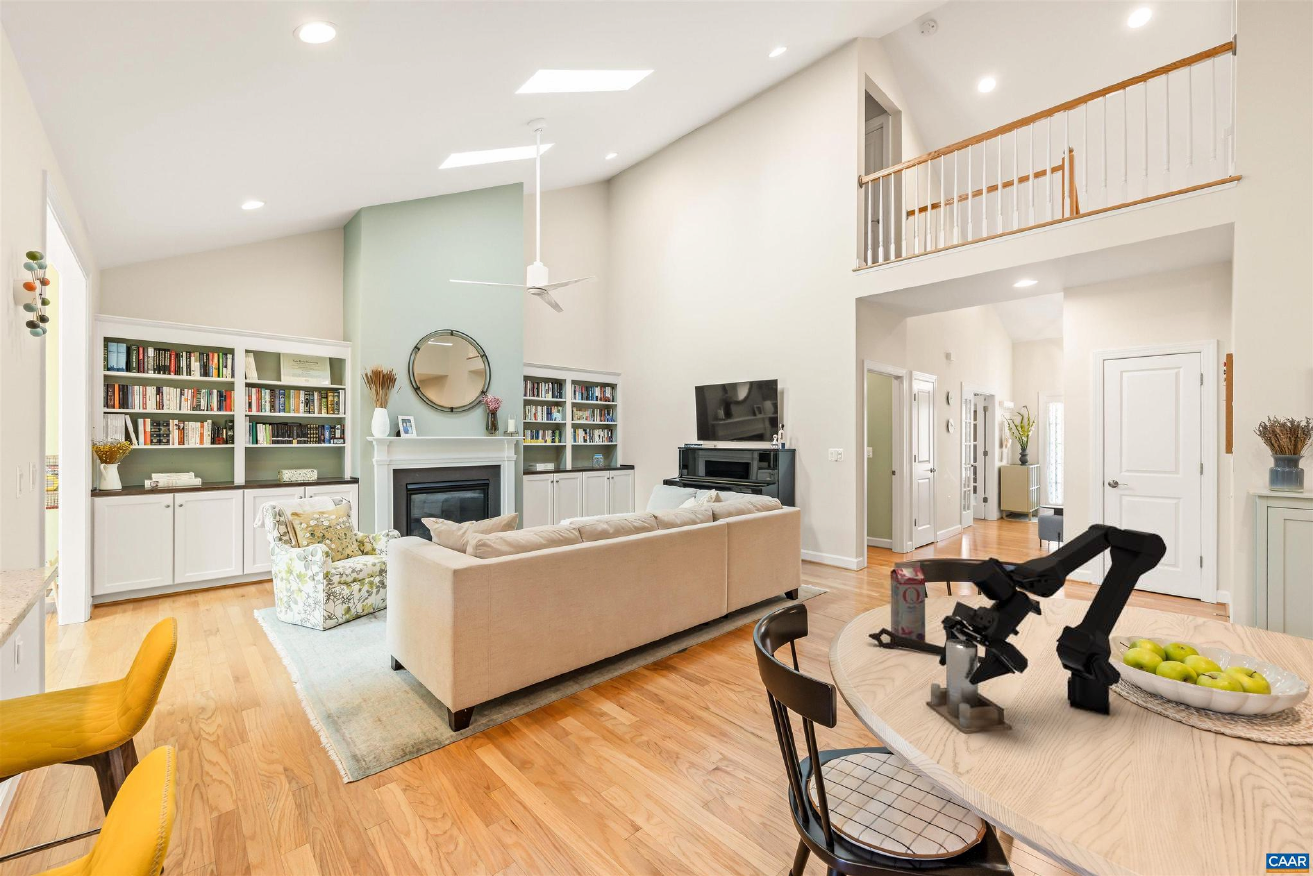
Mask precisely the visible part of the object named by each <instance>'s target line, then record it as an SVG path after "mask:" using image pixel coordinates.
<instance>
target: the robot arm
mask: <svg viewBox="0 0 1313 876" xmlns="http://www.w3.org/2000/svg"><path fill="white" fill-rule="evenodd" d="M1108 549H1109V557H1110V561H1111V564H1110V567H1109V569H1108V571H1107V572H1106V575H1105V576H1104V578H1103V580H1102V582H1101V584H1100V587H1098V590H1097V592H1096V593H1095V596H1094V597H1093V599H1092V601H1091V603H1090V605H1089V606H1088V609H1087V611H1086V613H1085V615H1084V617H1083V618H1082V621H1080V623H1079V624H1077V625H1075V626H1074V627H1072V626H1070V625H1069V624H1068V625H1065V626H1064V627H1063V628H1062V631H1061V634H1060V636H1059V637H1058V638H1057V639H1056V641H1055V642H1057V644H1056V648H1055V652H1056V653H1057V658H1058V659H1059V661H1060V663H1061V667H1062V669H1064V670H1066V671H1069V672H1071V673H1070V676H1068V677H1067V680H1066V681H1067V684H1066V685H1067V700H1068V701H1069V706H1070V707H1071V708H1075V709H1079V710H1084V711H1088V712H1092V713H1097V714H1099V715H1100V714H1101V715H1105V716H1110V715H1111V702H1110V687H1113V685H1117V684H1119V682H1120V678H1121V672H1120V671H1119V670H1118V669H1117V668H1116V667H1115V666H1114V665H1113V664H1112V663H1111V661H1110V658H1111V655H1112V648H1111V641H1110V636H1111V633H1112V632H1113V629H1114V627H1115V626H1116V623H1117V621H1118V620H1119V618H1120V616H1121V614H1122V612H1123V610H1124V608H1125V606H1126V605H1127V602H1128V600H1129V599H1130V598H1131V595H1132V593H1133V591H1134V589H1135V587H1136V585H1137V583H1138V581H1139V580H1140V578H1141V576H1143V575H1144V574H1146V573H1148V572H1149V571H1151V570H1153V569H1155V568H1157V566H1158V564H1160V562H1161V560H1162V559H1163V558H1164V557H1165V555H1166V553H1167V545H1166V543H1165V541H1164V538H1162V536H1161V535H1159V534H1157V533H1155V532H1153V533H1152V532H1149V531H1148V532H1147V531H1141V530H1135V529H1130V528H1124V529H1122V528H1118V527H1117V526H1115V525H1108V524H1102V523H1093V524H1091V525H1090V526H1088V528H1087V530H1085V531H1083V532H1082V533H1081V534H1079V535H1078V536H1076V537H1074V538H1073V539H1072V540H1070V541H1069V542H1066V543H1065V544H1064V545H1062V546H1061V547H1059V548H1057V549H1056V550H1055V551H1052V552H1051V553H1049V554H1048V555H1046V556H1043V557H1036V558H1032V559H1029V560H1026V561H1023V562H1022V563H1019V564H1017V565H1016V566H1015V567H1014V568H1012V569H1006V567H1005V566H1004V565H1003V563H1002V562H1001V561H1000V560H999V558H995V557H989V558H988V559H987V560H984V561H982V562H978V563H977V564H976V565H973V566H972V567H970V570H969V571H968V573H967V578H968V581H970V582H971V584H973V586H974V587H976V589H978V590H979V592H980V593H982V595H983V596H984V597H985V598H986V599H988V600H989V601H993V603H992V604H991V605H990V607H987V606H981V605H980V606H979V607H977V608H975V607H973V606H970V605H967V604H964V603H963V602H960V601H958V600H957V601H956V603H955V605H954V608H953V611H952V613H951V615H946V616H944V618H943V619H942V621H941V622H940V623H941V624H942V629H943V630H944V632H945V642H944V645H943V647H944V648H943V651H942V654H941V655H940V657H939V661H938V664H939V665H940V666H942V667H945V666H946V641H947V640H950V639H961V640H967V641H970V642H973V643H975V644H977V645H979V646H981V647H983V648H984V656H983V657H984V659H983V661H982V662H981V663H979V664H978V667H977V669H976V670H975V671H974V673H973V674H972V676H971V677H970V679H969V683H970V684H972V685H975V684H978V685H979V684H981V683H983V682H987V681H990V680H991V679H992V680H993V679H995V678H998V677H1002V676H1005V675H1008V674H1012V675H1015V674H1016V672H1018V673H1019V674H1020V675H1021V674H1023V673H1024V672H1025V671H1026V670H1027V668H1029V659H1028V658H1027V656H1025V655H1024V654H1023V653H1022V652H1021V651H1020V650H1019V649H1018V648H1017V647H1016V646H1015V645H1014V644H1013V643H1012V642H1009V641H1007V640H1008V639H1009V637H1010V636H1011V635H1012V636H1015V637H1018V636H1019V634H1020V632H1019V630H1018V629H1017V628H1018V627H1019V626H1020V624H1021V623H1022V622H1023V621H1024V620H1025V619H1026V617H1027V616H1028V615H1029V614H1030V613H1032V614H1035V615H1037V616H1042V614H1043V613H1042V608H1041V605H1040V604H1041V602H1040V601H1039V600H1037V599H1034V598H1031V597H1030V596H1029V595H1028V594H1031V595H1034V596H1037V597H1040V598H1043V599H1048V598H1051V597H1053V596H1054V595H1056V594H1057V593H1058V591H1060V590H1061V589H1062V588H1063V587H1064V586H1065V583H1066V579H1067V577H1068V576H1069V575H1071V573H1073V572H1075V571H1076V570H1078V569H1079V568H1081V567H1082V566H1084V565H1085V564H1087V563H1088V562H1090V561H1092V560H1093V559H1094V558H1096V557H1098V556H1099V555H1101V554H1102V553H1104V552H1106V551H1107V550H1108ZM1027 593H1028V594H1027Z"/></svg>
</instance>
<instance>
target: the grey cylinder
mask: <svg viewBox="0 0 1313 876" xmlns="http://www.w3.org/2000/svg"><path fill="white" fill-rule="evenodd" d="M945 641H946V640H945ZM978 649H979V647H978V644H977V643H975V642H974V643H973V642H970V641H967V640H961V639H950V640H947V641H946V665H945V666H946V668H945V669H946V670H945V671H946V677H945V678H946V685H945V686H946V687H945V688H947V713H948V714H949V715H950V716H952V717H954V718H957V719H959V704H960V703H966V704H968V705H970V708H977V707H978V693H979V683H978V684H975V685H972V684H970V683H969V679H970V677H971V676H972V674H973V673H974V671H975V670H976V669H977V667H978V666H979V663H978V656H979V654H978V653H979V650H978Z"/></svg>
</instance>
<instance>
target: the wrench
mask: <svg viewBox="0 0 1313 876" xmlns="http://www.w3.org/2000/svg"><path fill="white" fill-rule="evenodd" d="M883 635H885V636H888V637H889V638H890V640H889V642H884V641H883V640H882V638H881V637H882V636H883ZM868 637H869V639H872V640H873V641H876V642H877V644H878V646H879V648H880V647H883V648H882V649H889V648H895V647H896V648H899V647H901V648H900V649H907V650H912V651H918V652H923V653H928V654H933V655H936V656H937V655H938V656H941V654H942V651H943V648H944V646H942V645H941V646H940V645H937V644H933V643H929V642H926V641H925V642H922V641H918V640H914V639H910V638H906V637H902V636H898V635H896V634H895V633H893V632H891V630H889V629H888V628H885V627H883V628H881V629H879V631H878V632H874V633H869V634H868ZM984 657H985V656H981V655H978V662H979V663H978V664H980V663H981V662H982V661H983V659H984Z"/></svg>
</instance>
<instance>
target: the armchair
mask: <svg viewBox="0 0 1313 876" xmlns="http://www.w3.org/2000/svg"><path fill="white" fill-rule="evenodd" d="M925 705H926V706H928V707H929V708H930V709H931V710H933V711H934V712H935V711H936V712H935V713H937V714H938V715H939V716H941V717H942V718H943V717H944V718H943V719H945V720H946V721H947V722H948V723H950V724H951V725H953V727H954V728H956V729H957V730H959V731H960V732H962V733H963V734H965V735H966V734H974V733H975V734H976V733H987V732H997V731H1009V730H1011V731H1012V730H1013V726H1012V725H1011V724H1009V723H1008V722H1007V721H1005V709H1004V708H1003V707H1002V706H1000V705H998V704H997V703H996V702H994V701H993V700H991V699H990V698H987V697H986V696H984V695H982V694H981V693H980V692H978V707H977V708H970V705H968V704H966V703H960V704H959V719H957V718H954V717H952V716H950V715H949V714H948V713H947V687H941V685H940V684H939V683H933V682H932V683H931V684H930V700H929V701H928V700H927V701H925Z"/></svg>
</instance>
